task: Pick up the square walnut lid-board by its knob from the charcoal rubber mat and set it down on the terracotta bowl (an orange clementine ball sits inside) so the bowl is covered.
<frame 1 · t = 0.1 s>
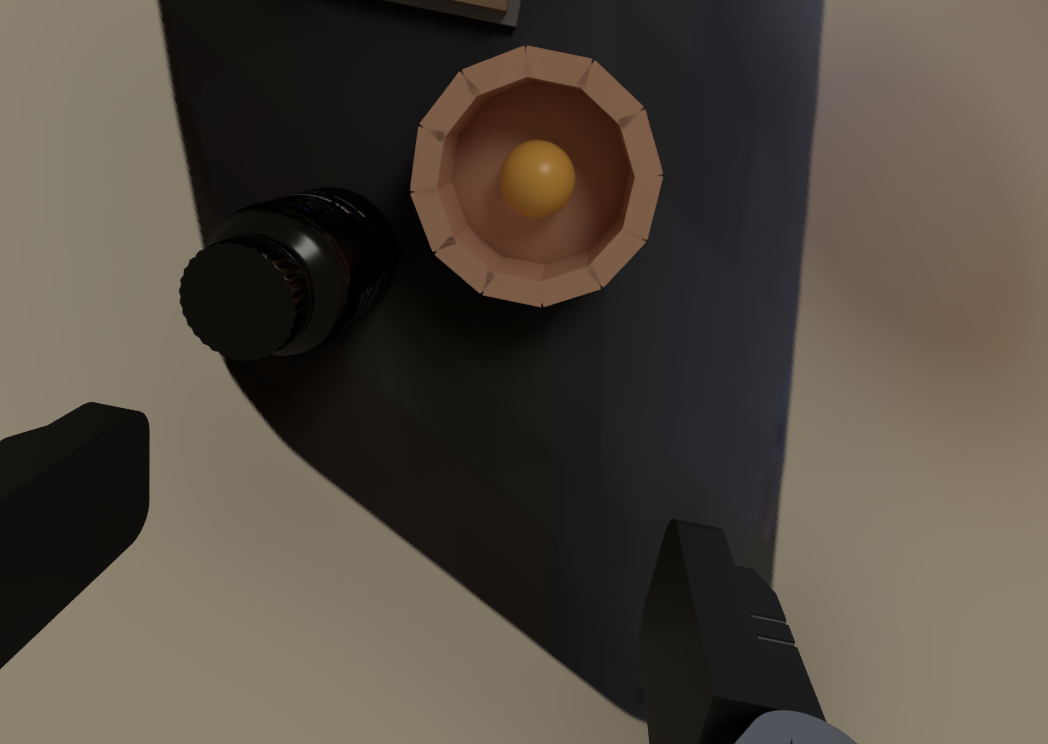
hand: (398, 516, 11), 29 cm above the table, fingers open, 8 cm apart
supplement bottle: (339, 249, 40), on the table
bowl: (540, 174, 38), on the table
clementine: (539, 176, 37), point 1 cm above the table, touching bowl
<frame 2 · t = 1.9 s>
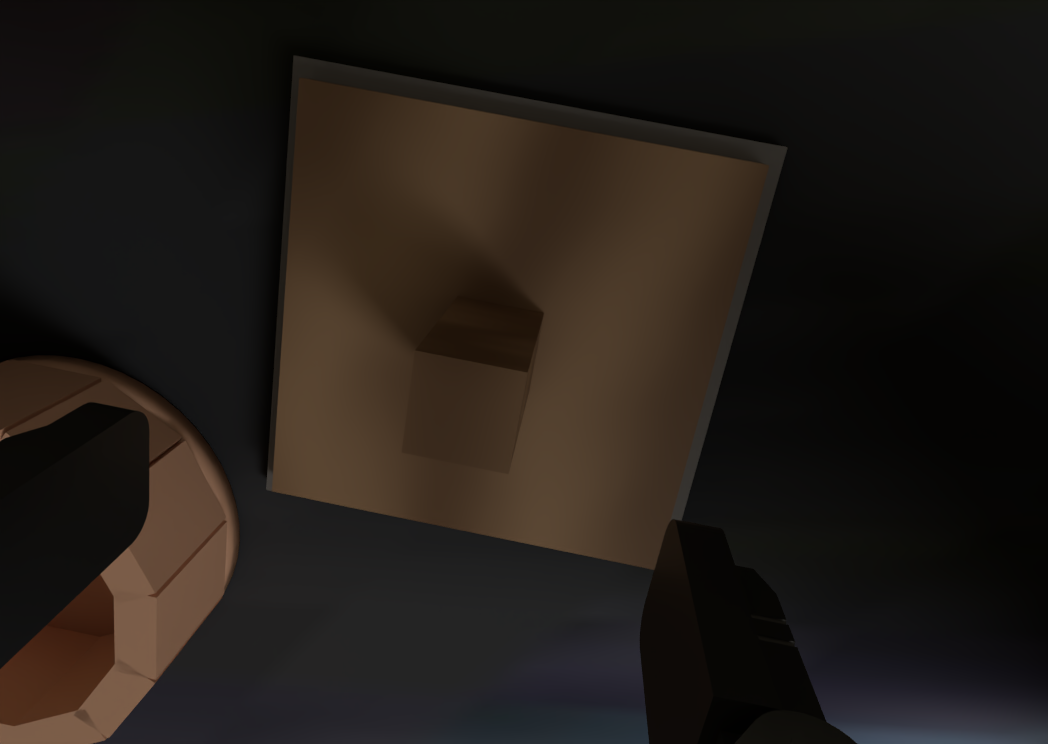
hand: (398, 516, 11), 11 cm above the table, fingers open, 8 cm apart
bowl: (83, 508, 25), on the table
lid: (482, 370, 18), on the mat
mat: (499, 333, 22), on the table
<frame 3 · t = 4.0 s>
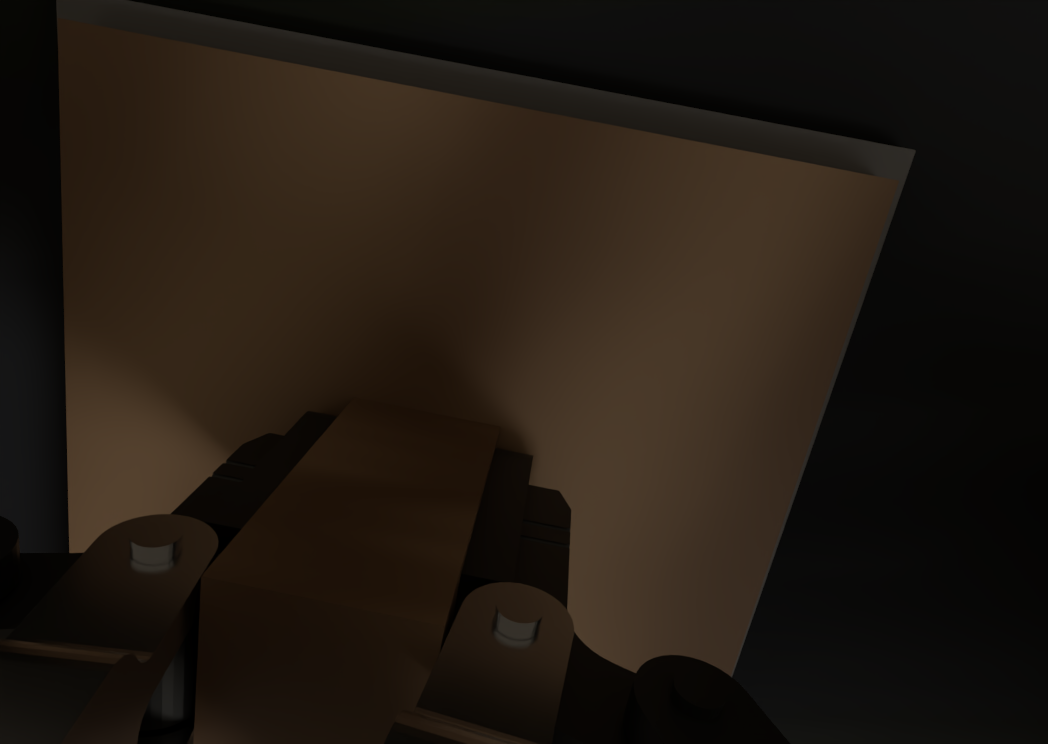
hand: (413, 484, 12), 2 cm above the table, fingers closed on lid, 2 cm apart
lid: (384, 545, 10), point 4 cm above the table, touching gripper
mat: (430, 443, 14), on the table
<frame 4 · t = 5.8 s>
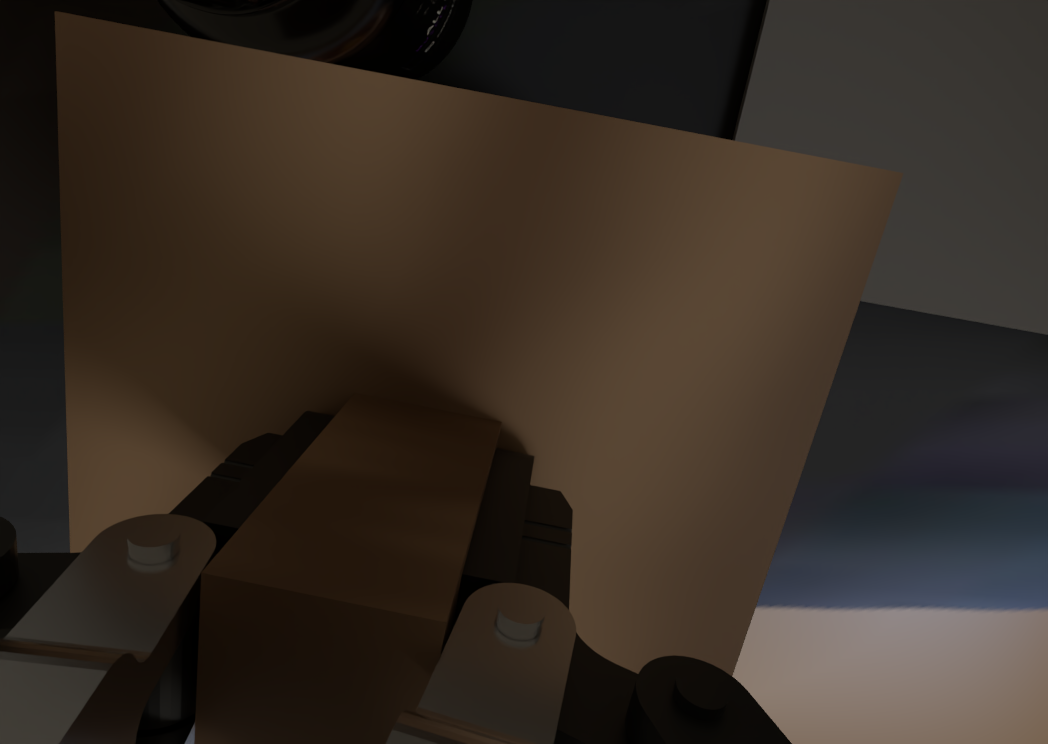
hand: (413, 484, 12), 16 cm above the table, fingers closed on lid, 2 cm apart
lid: (386, 541, 10), point 18 cm above the table, touching gripper
mat: (949, 108, 24), on the table
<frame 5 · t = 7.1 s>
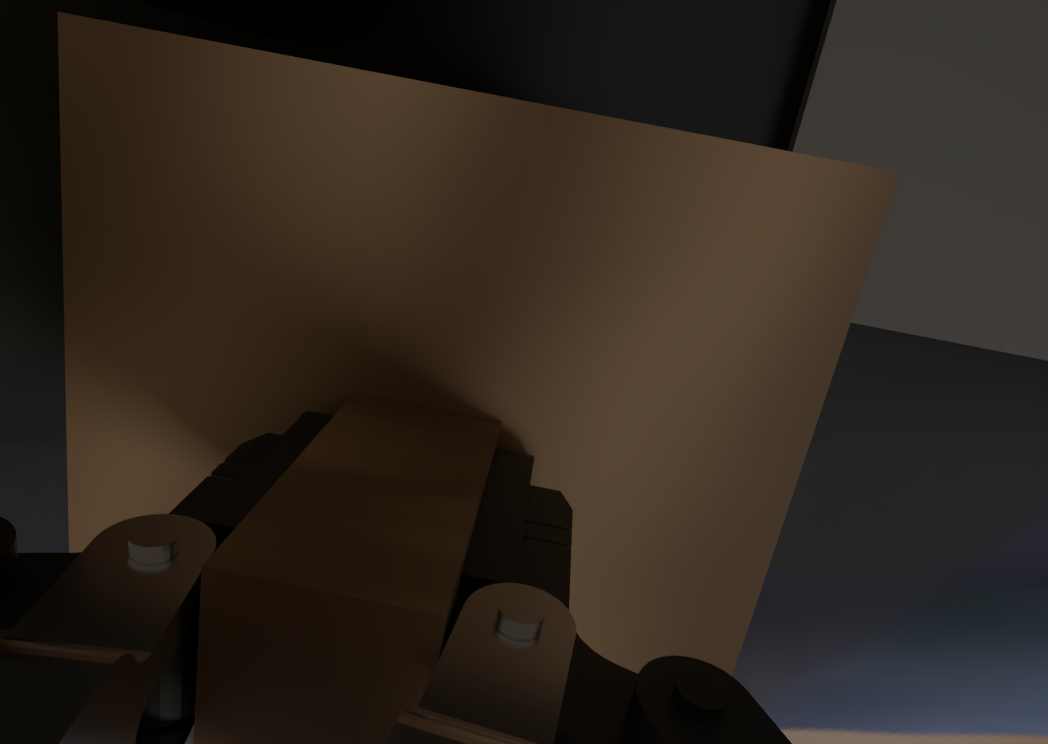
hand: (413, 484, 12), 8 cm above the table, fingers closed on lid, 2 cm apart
lid: (385, 539, 10), point 10 cm above the table, touching gripper
when the fingers open (8 cm above the table, at t = 7.9 s): lid drops 2 cm, resting on bowl.
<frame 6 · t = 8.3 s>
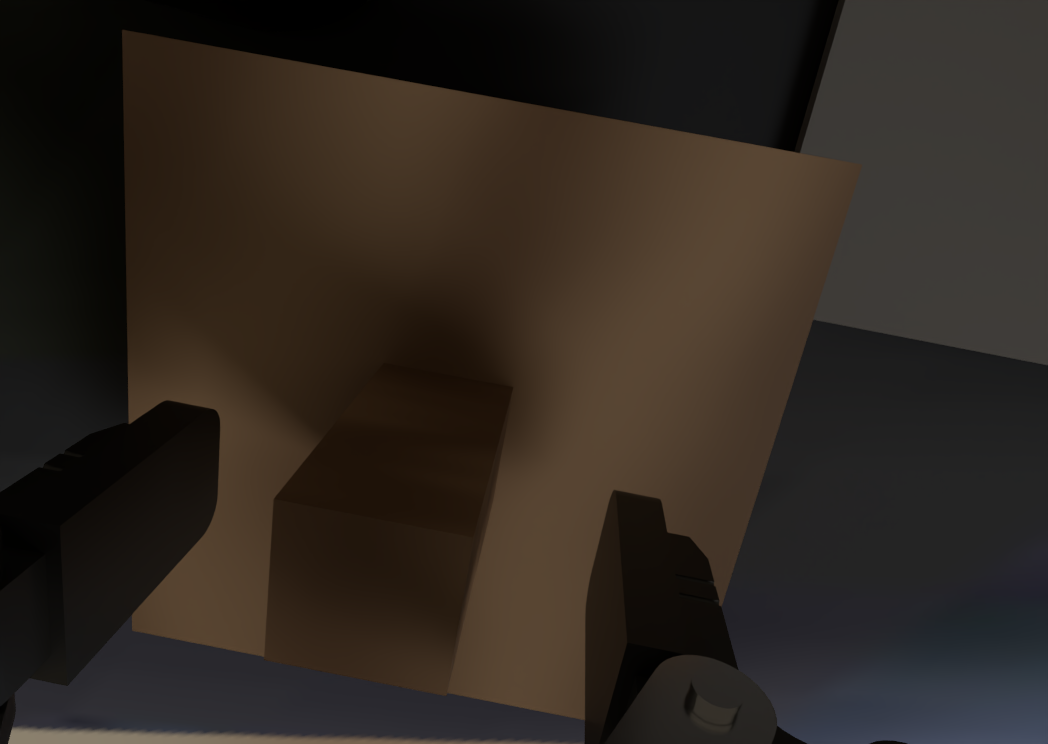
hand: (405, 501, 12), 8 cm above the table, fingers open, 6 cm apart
lid: (415, 488, 12), on the bowl, point 8 cm above the table
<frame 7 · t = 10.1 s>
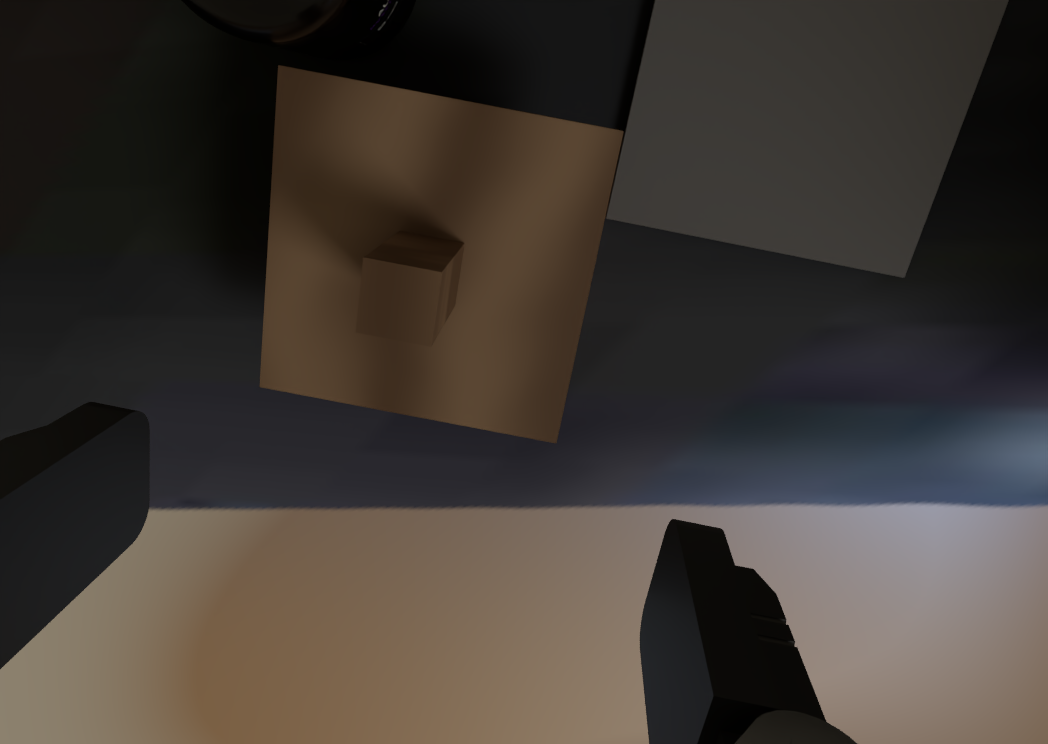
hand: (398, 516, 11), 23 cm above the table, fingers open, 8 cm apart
lid: (416, 281, 25), on the bowl, point 8 cm above the table
mat: (799, 88, 30), on the table
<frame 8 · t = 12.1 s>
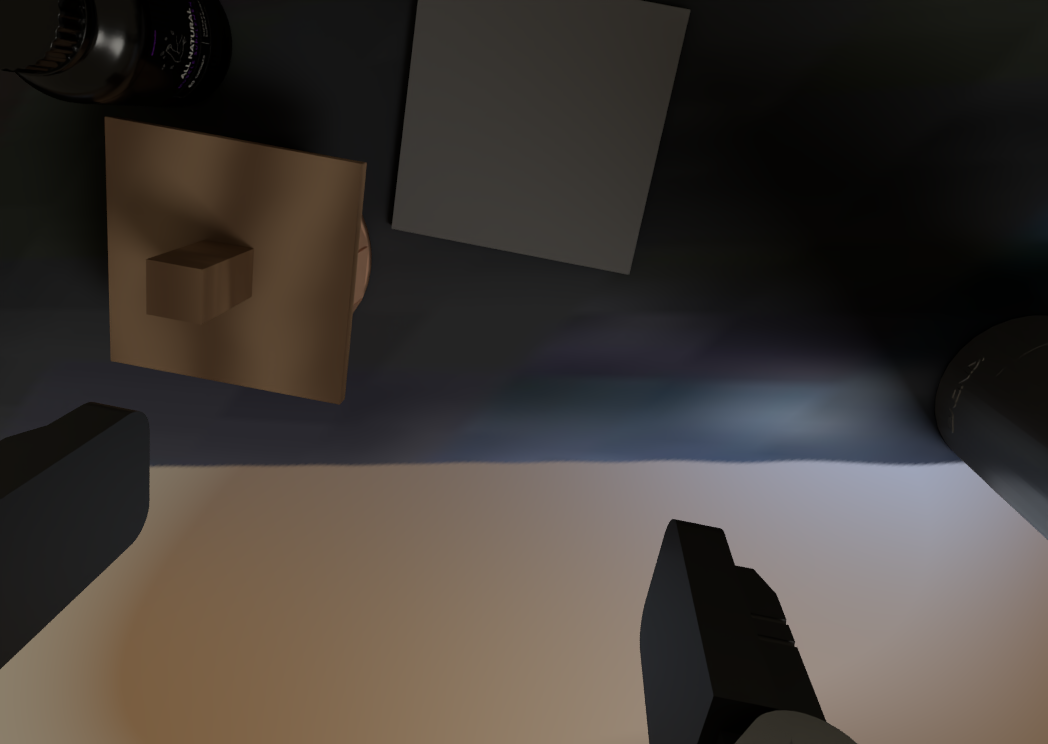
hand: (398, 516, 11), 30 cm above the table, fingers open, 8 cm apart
supplement bottle: (174, 36, 38), on the table
bowl: (274, 249, 41), on the table
lid: (207, 277, 34), on the bowl, point 8 cm above the table
mat: (532, 125, 38), on the table
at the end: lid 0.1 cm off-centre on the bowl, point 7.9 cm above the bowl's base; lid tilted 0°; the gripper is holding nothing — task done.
